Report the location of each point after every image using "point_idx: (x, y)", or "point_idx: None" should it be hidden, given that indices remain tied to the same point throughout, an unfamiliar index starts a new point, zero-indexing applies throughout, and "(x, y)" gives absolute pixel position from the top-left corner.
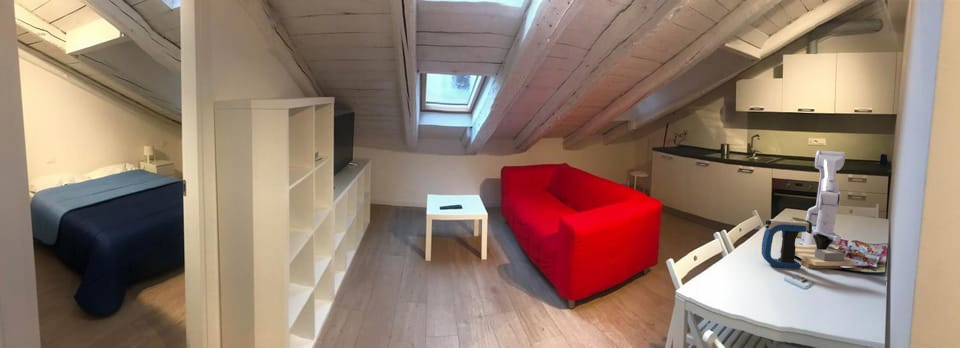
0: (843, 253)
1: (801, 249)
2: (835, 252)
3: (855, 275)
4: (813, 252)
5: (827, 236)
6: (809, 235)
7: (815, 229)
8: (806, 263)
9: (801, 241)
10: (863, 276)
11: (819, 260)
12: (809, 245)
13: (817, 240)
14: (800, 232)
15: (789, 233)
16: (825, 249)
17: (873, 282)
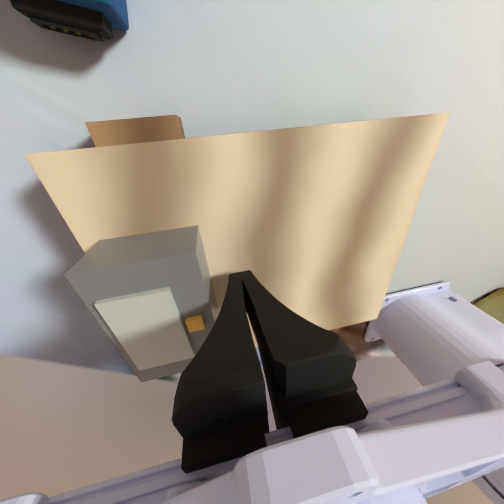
0: (147, 378)
1: (335, 213)
2: (131, 350)
3: (91, 320)
4: (279, 257)
5: (195, 477)
6: (456, 329)
7: (421, 484)
8: (115, 120)
9: (448, 291)
10: (93, 340)
11: (96, 213)
12: (380, 287)
13: (263, 332)
14: (499, 317)
15: None
16: (200, 318)
17: (17, 348)
